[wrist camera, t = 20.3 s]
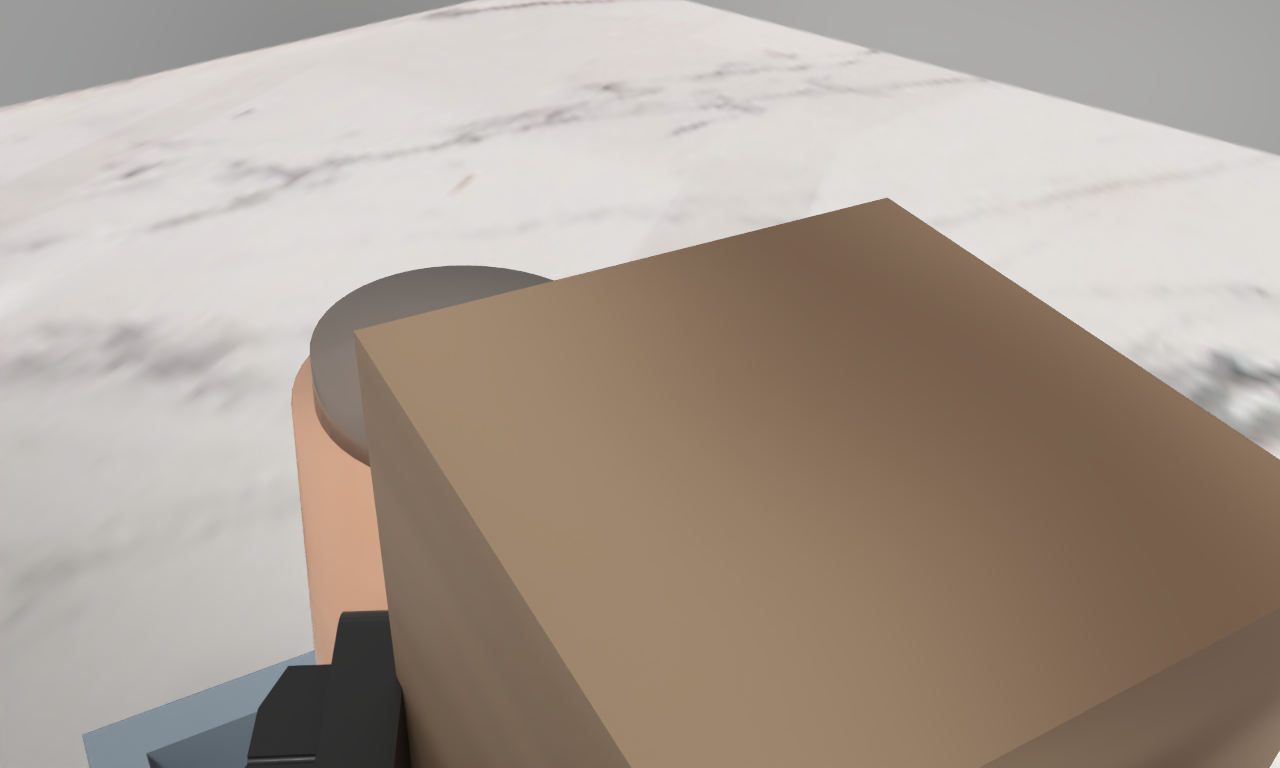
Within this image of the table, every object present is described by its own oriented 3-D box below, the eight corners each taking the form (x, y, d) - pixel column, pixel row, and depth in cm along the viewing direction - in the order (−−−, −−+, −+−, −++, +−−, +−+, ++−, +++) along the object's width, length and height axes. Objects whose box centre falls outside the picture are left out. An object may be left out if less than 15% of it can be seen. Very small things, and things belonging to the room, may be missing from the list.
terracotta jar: (347, 1016, 21) (293, 473, 14) (329, 785, 25) (281, 264, 18) (612, 957, 23) (692, 435, 15) (557, 746, 26) (600, 248, 19)
